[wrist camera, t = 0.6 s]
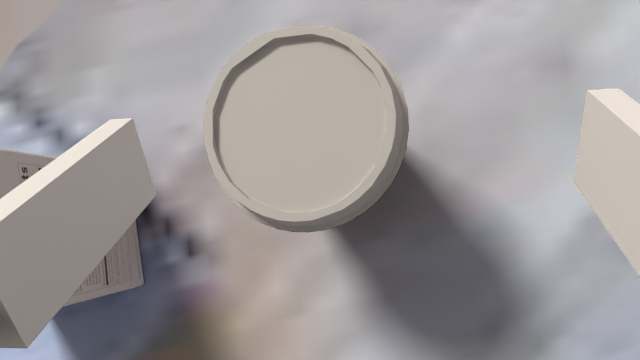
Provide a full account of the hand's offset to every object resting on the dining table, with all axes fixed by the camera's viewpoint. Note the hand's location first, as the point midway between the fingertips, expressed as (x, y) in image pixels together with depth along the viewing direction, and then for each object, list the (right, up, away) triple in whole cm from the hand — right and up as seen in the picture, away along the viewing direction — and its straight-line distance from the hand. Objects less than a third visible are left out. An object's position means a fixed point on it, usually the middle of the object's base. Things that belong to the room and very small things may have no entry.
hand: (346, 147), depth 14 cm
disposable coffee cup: (+1, +1, +18) cm, 18 cm away
